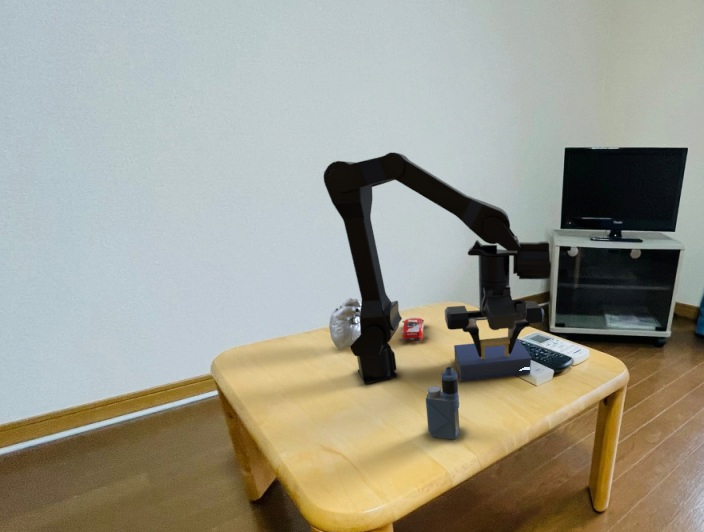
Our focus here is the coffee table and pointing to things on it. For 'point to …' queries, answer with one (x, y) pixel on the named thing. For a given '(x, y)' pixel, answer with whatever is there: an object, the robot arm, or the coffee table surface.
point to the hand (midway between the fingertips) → (494, 354)
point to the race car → (413, 329)
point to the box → (491, 370)
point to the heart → (345, 323)
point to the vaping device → (444, 407)
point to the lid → (491, 353)
